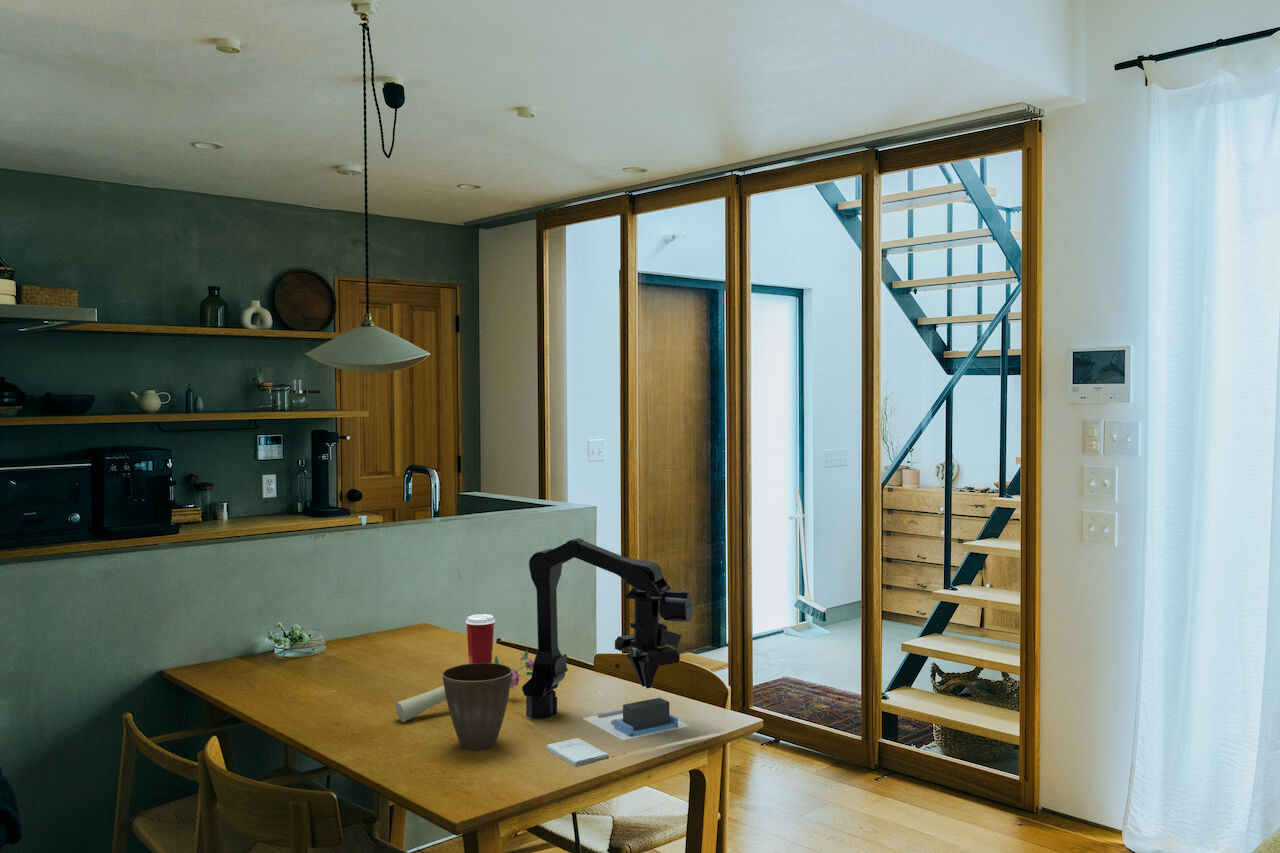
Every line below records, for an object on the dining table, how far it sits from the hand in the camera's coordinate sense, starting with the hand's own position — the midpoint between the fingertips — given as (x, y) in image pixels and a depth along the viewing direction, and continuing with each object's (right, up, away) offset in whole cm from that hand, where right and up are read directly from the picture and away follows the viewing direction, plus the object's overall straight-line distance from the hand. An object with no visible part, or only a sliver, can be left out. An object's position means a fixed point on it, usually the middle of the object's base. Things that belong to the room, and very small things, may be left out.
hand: (646, 687), depth 222 cm
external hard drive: (-15, -11, -15) cm, 23 cm away
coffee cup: (-46, -9, +51) cm, 70 cm away
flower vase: (-44, -10, +16) cm, 48 cm away
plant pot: (-37, -10, -9) cm, 39 cm away
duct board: (-2, -10, +4) cm, 11 cm away
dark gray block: (0, -9, 0) cm, 9 cm away
